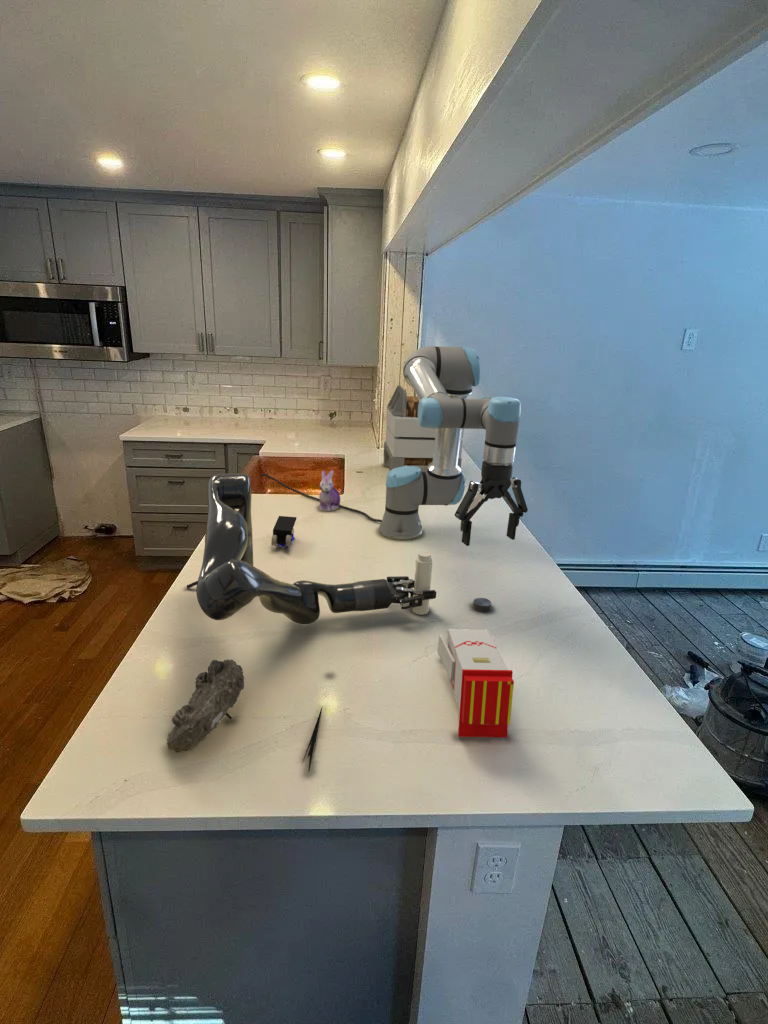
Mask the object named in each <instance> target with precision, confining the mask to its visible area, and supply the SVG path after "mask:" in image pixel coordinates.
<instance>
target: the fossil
mask: <svg viewBox="0 0 768 1024" xmlns="http://www.w3.org/2000/svg"><path fill="white" fill-rule="evenodd" d="M243 670H244V669H243V667H242V665H240V664H237V662H236V661H235V660H234V659H232V658H231V659H227V658H226V659H224V660H223V661H222V660H217V659H212V660H211V661H210V663H209V665H208V666H207V671H201V672H199V673H198V674H197V675H196V676H195V680H194V684H195V685H194V687H195V689H194V690H193V693H192V694H191V697H190V698H189V700H188V704H184V705H182V706H181V707H180V709H177V710H176V711H175V713H174V715H173V716H172V718H171V723H172V724H173V727H172V730H171V731H170V732H168V734H167V738H166V741H167V742H166V745H167V749H168V750H169V751H173V752H174V753H176V754H178V753H182V752H188V751H189V752H192V751H193V750H195V748H196V747H197V746H199V744H200V743H201V742H203V741H204V740H205V739H206V738H207V737H208V736H209V735H210V734H211V733H212V732H214V730H215V729H217V727H218V726H219V724H220V722H221V721H222V720H223V719H224V718H225V716H226V717H227V719H229V720H233V717H232V715H230V714H229V710H230V709H231V708H234V706H235V704H236V703H237V702H238V699H239V697H240V695H241V693H242V691H243V690H245V689H244V688H245V675H244V671H243Z"/></svg>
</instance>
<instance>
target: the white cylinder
mask: <svg viewBox="0 0 768 1024" xmlns="http://www.w3.org/2000/svg"><path fill="white" fill-rule="evenodd" d="M433 560H434V559H433V557H432V553H431V552H429V551H423V550H422V551H419V552H418V553H417V556H416V557H415V566H414V567H415V569H414V579H413V580H414V588H413V590H414V591H420V592H422V591H428V590H431V585H432V573H433ZM413 596H418V595H413ZM430 600H431V599H428V600H423V605H422V606H418V607H414V608H412V612H413V613H414V614H415V615H422V616H423V615H426V614H428V613H429V612H430ZM415 603H417V602H415Z"/></svg>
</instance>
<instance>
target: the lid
mask: <svg viewBox="0 0 768 1024" xmlns="http://www.w3.org/2000/svg"><path fill="white" fill-rule="evenodd" d="M472 602H473V603H472V609H474V610H475V611H477V612H481V613H488V612H489V611H491V609H492V601H491V600H490V599H488V598H487V597H476V598H474V599H473V601H472Z"/></svg>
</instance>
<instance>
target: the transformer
mask: <svg viewBox="0 0 768 1024" xmlns="http://www.w3.org/2000/svg"><path fill="white" fill-rule="evenodd" d="M407 394H408V393H407V390H406V389H404V388H403V387H402V385H399V384H398V385H397V386H396V388H395V390H394V392H393V394H392V395H391V398H390V400H389V402H388V404H387V405H386V413H385V414H386V415H385V423H386V428H385V438H384V442H383V466H384V467H388V468H389V471H391V470H392V469H394V468H397V467H402V466H412V467H413V466H415V467H428V465H429V464H430V463H432V462H433V453H434V444H435V435H436V429H432V428H425V427H421V426H420V425H419V422H418V405H419V399H418V397H417V396H415V395H414V396H413V395H412V396H411V395H407ZM464 431H465V429H462V434H461V442H460V449H459V457H458V466H459V467H460V468H461V469H462V461H463V460H462V453H463V442H464V441H463V440H462V439H463V438H464Z"/></svg>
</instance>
